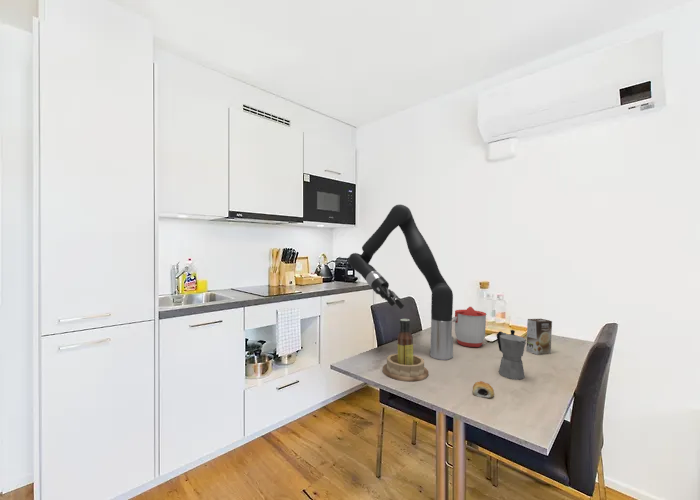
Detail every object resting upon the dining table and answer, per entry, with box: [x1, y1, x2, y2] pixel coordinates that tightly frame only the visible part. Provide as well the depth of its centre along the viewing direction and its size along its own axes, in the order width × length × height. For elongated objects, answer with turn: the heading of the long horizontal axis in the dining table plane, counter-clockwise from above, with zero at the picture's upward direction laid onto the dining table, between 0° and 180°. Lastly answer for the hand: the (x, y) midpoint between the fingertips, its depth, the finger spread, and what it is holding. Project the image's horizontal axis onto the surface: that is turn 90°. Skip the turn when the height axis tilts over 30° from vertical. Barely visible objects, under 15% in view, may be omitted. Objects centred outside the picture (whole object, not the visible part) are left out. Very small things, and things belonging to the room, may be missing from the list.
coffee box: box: [525, 318, 553, 356], centre depth 156 cm, size 9×6×16 cm
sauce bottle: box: [396, 318, 414, 365], centre depth 126 cm, size 6×6×20 cm
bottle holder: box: [382, 353, 429, 382], centre depth 126 cm, size 18×18×5 cm
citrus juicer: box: [452, 306, 487, 348], centre depth 167 cm, size 16×17×20 cm
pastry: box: [472, 380, 495, 399], centre depth 110 cm, size 9×7×4 cm
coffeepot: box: [496, 329, 527, 381], centre depth 127 cm, size 15×9×18 cm, turn 13°
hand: (398, 306), depth 140 cm, fingers open, 8 cm apart
